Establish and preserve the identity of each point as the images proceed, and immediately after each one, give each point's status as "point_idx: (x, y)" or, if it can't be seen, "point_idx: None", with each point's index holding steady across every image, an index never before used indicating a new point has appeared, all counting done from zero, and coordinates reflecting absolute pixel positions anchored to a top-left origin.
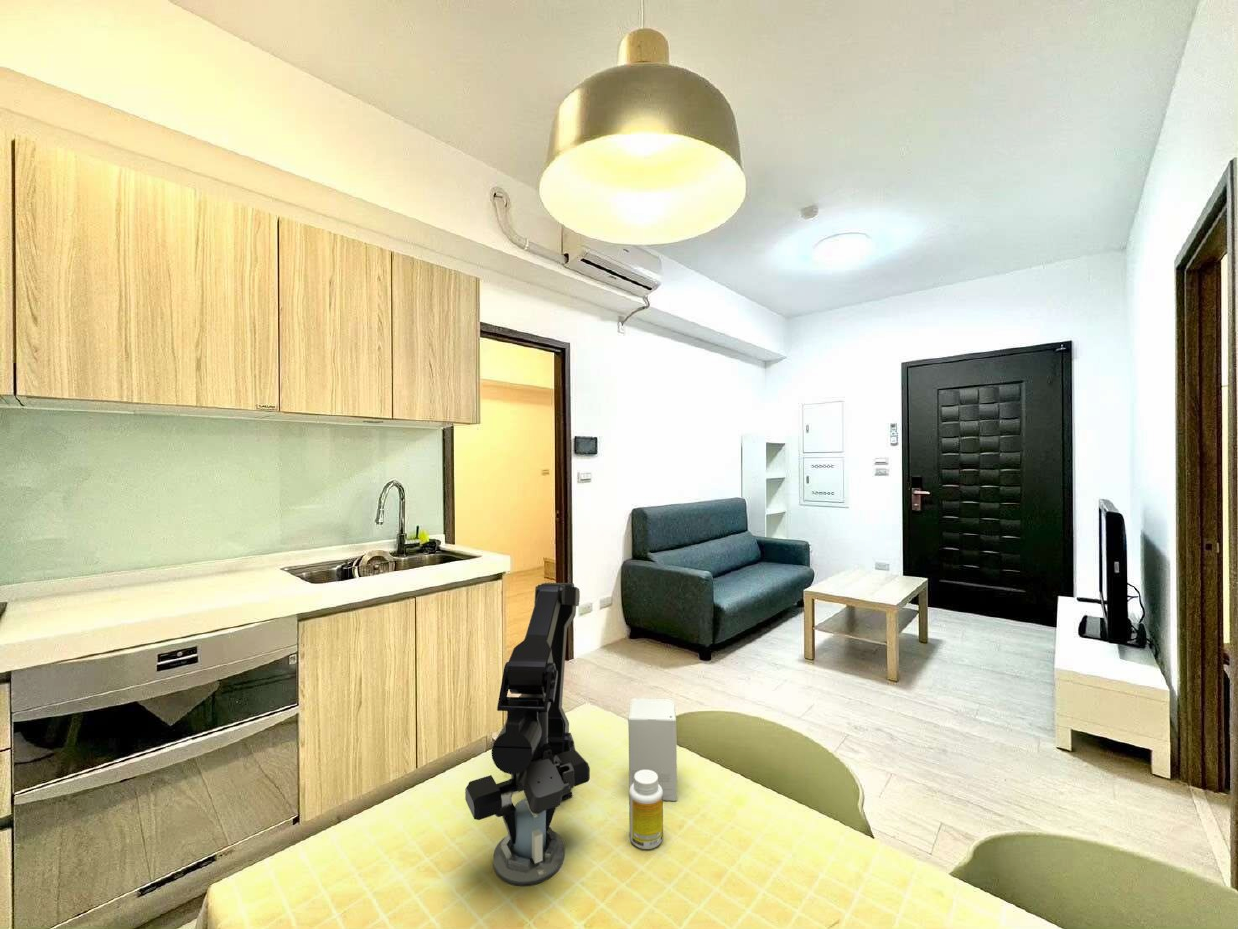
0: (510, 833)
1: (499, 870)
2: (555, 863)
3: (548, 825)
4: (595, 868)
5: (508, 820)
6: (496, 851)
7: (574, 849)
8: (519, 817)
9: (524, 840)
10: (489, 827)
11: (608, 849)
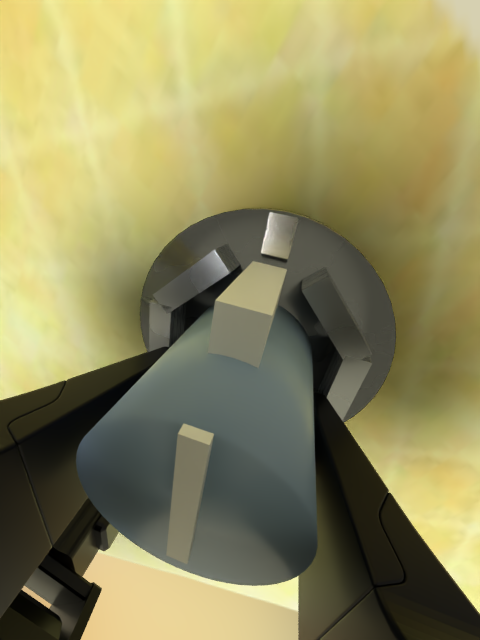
0: (359, 447)
1: (392, 354)
2: (211, 229)
3: (149, 355)
4: (99, 123)
5: (426, 573)
6: None
7: (127, 260)
8: (311, 518)
9: (298, 364)
10: None
11: (33, 175)
